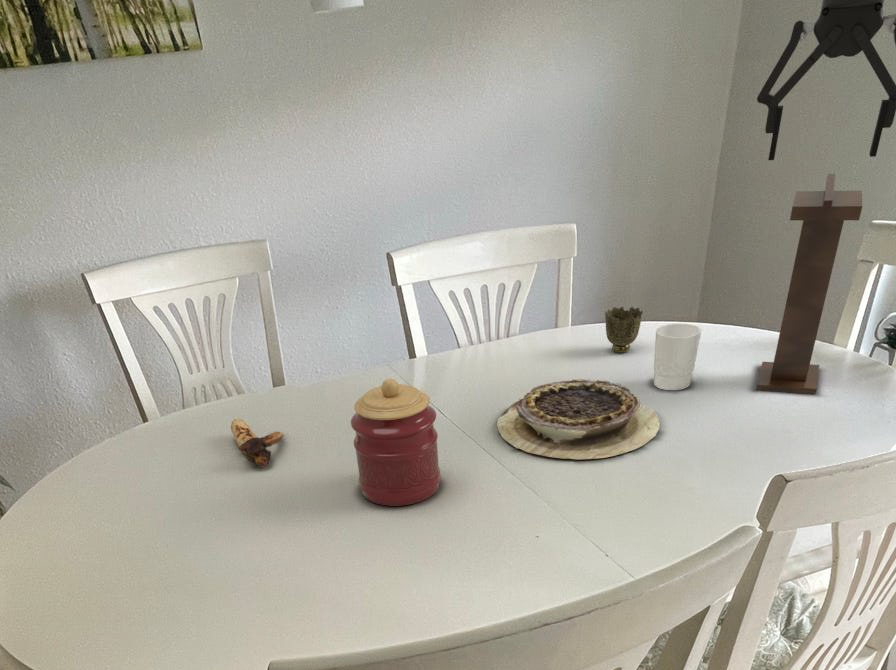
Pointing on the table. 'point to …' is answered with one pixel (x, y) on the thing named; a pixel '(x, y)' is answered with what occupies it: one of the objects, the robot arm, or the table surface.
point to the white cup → (675, 355)
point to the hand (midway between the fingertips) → (820, 157)
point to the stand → (808, 289)
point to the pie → (578, 420)
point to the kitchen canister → (396, 445)
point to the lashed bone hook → (254, 442)
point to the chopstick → (829, 191)
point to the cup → (622, 327)
